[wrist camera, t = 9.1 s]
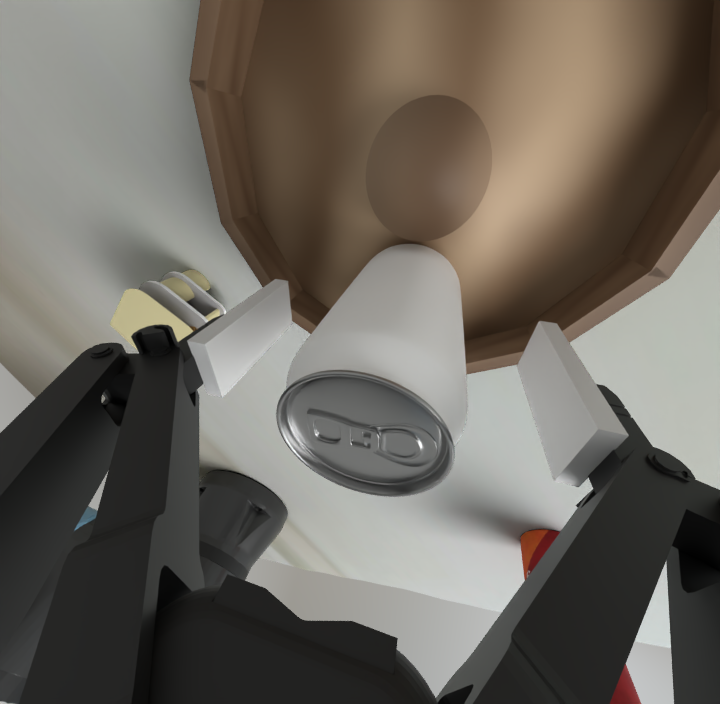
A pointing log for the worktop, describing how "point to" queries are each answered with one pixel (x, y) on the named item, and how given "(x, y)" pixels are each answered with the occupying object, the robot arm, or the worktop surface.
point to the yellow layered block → (167, 305)
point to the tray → (532, 106)
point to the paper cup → (532, 551)
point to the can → (383, 379)
